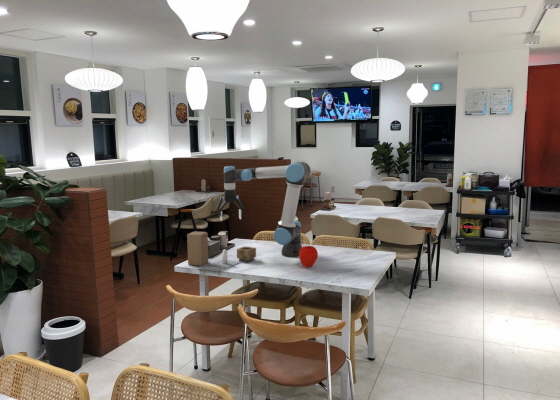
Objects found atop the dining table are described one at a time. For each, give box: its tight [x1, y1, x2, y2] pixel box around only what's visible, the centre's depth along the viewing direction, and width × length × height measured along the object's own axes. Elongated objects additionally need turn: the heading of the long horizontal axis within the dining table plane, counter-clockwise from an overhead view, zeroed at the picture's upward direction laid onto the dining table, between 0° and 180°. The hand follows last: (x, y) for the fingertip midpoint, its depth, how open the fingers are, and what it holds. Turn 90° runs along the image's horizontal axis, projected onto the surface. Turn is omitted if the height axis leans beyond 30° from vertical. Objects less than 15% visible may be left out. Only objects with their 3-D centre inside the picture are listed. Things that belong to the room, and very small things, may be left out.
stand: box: [238, 257, 255, 263], centre depth 292 cm, size 7×7×7 cm
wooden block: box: [186, 230, 209, 267], centre depth 285 cm, size 10×10×20 cm
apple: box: [299, 245, 319, 268], centre depth 276 cm, size 12×12×13 cm
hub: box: [209, 249, 241, 269], centre depth 283 cm, size 14×14×10 cm
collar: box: [236, 246, 257, 260], centre depth 292 cm, size 9×9×6 cm
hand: (230, 219), depth 307 cm, fingers open, 13 cm apart
